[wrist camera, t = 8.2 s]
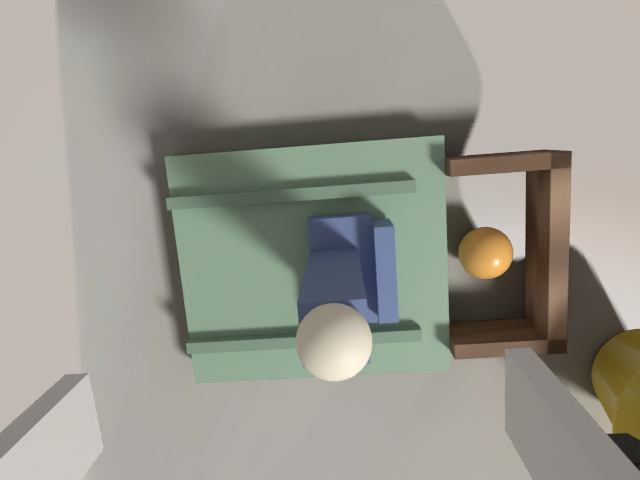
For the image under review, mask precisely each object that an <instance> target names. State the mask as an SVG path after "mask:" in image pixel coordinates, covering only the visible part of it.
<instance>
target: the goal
mask: <svg viewBox="0 0 640 480" xmlns="http://www.w3.org/2000/svg"><path fill="white" fill-rule="evenodd" d="M571 153H572V151H560V150H533V151H520V152H508V153H493V154H482V155H467V156H454V157H445V175H447V176H450V177H454V176H467V175H481V174H494V173H508V172H522V171H526V245H525V318H516V319H498V320H481V321H464V322H449V339H450V351H451V353H452V355H453V357H454V359H471V358H489V357H505V349H515V348H531V349H532V350H533V351H534V352H535V353H536V354H537V355H544V354H563V353H567V315H568V276H569V236H570V197H571V196H570V194H571V156H572V154H571Z"/></svg>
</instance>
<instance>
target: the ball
mask: <svg viewBox="0 0 640 480" xmlns="http://www.w3.org/2000/svg"><path fill="white" fill-rule="evenodd" d="M458 255H459V260H460V263H461V265H462V266H463V268H464V269H465V270H466V271H467V272H468V273H469V274H471V275H472V276H474V277H477V278H481V279H491V278H495V277H498V276H500V275H501V274H503V273H504V272H505V271H506V270H507V269H508V268H509V266H510V264H511V262H512V259H513V248H512V244H511V242H510V240H509V239H508V237H507V236H506V235H505V234H504V233H502V232H501V231H499V230H497V229H494V228H490V227H481V228H477V229H474V230H472V231H470V232H469V233H468V234H466V235H465V237H464V238H463V239H462V241H461V243H460V246H459V251H458Z"/></svg>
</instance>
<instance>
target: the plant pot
mask: <svg viewBox="0 0 640 480" xmlns="http://www.w3.org/2000/svg"><path fill="white" fill-rule="evenodd" d="M591 377H592V384H593V388H594V390H595V392H596V394H597V396H598V398H599V400H600V402H601V404H602V406H603V408H604V410H605V411H606V413H607V415H608V417H609V419H610V421H611V423H612V425H613V434H615V433H628V434H630V435H632V436H634V437H635V438H637V439H639V440H640V329H633V330H628V331H625V332H622V333H620V334H618V335H616V336H614V337H613V338H611V339H610V340H609V341H607V342H606V343H605V344H604V345H603V346H602V348H601V349H600V350H599V352H598V353H597V355H596V357H595V360H594V362H593V366H592V372H591Z"/></svg>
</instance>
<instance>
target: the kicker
mask: <svg viewBox="0 0 640 480" xmlns="http://www.w3.org/2000/svg"><path fill="white" fill-rule="evenodd" d="M307 222H308V234H309V247H310V253H309V257H308V261H307V265H306V269H305V273H304V277H303V281H302V285H301V289H300V293H299V297H298V301H297V310H298V322H299V328H298V330H297V334H296V349H297V353H298V356H299V359H300V361H301V362H302V366H303V368H306V369H307V370H308V371H309V372H310V373H311V374H313V375H314V376H316V377H318V378H321V379H323V380H327V381H341V380H345V379H348V378H351V377H352V376H354V375H356V374H357V373H358V372H359V371H361V370H362V368H363V367H364V366H365V365H366V364H371V362H370V354H371V351H372V334H371V330H370V328H369V325H368V323H377V322H378V320H379V324H383V323H399V314H398V292H397V271H396V250H395V228H394V225H393V223H392V222H391V220H390V219H389V218H386V219H372V215H371V213H370V212H362V213H348V214H334V215H319V216H309V217H308V219H307ZM377 316H378V318H377Z"/></svg>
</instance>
